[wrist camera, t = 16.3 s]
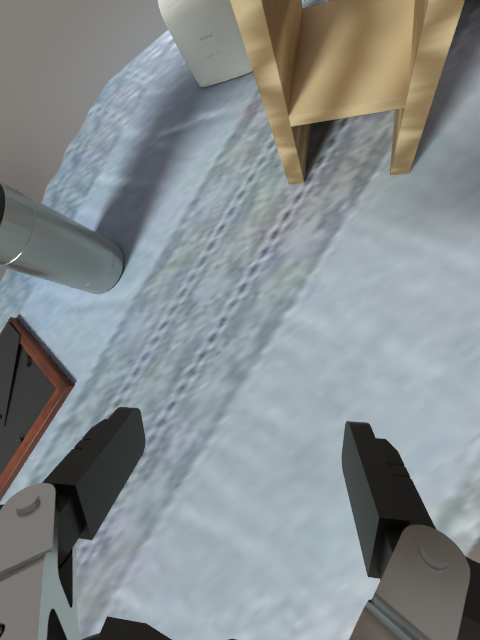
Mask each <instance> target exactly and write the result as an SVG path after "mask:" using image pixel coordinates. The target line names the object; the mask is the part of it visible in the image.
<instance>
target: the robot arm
mask: <svg viewBox="0 0 480 640" xmlns="http://www.w3.org/2000/svg"><path fill="white" fill-rule="evenodd" d="M123 263H124V260H123V254H122V251H121V249H120V247H119V246H118V245H117V244H116V243H114V242H113V241H111V240H109V239H107V238H105V237H103V236H101V235H100V234H98V233H96V232H94V231H92V230H90V229H89V228H87V227H85V226H83V225H81V224H79V223H77V222H75V221H74V220H72V219H70V218H68V217H66V216H64V215H62V214H60V213H59V212H57V211H55V210H53V209H51V208H49V207H47V206H45V205H44V204H42V203H40V202H38V201H36V200H34V199H32V198H30V197H29V196H26V195H25V194H23V193H21V192H19V191H17V190H15V189H13V188H11V187H10V186H8V185H6V184H4V183H2V182H0V267H4V268H7V269H11V270H14V271H18V272H21V273H25V274H28V275H32V276H35V277H39V278H42V279H45V280H49V281H52V282H56V283H59V284H63V285H66V286H70V287H73V288H76V289H80V290H83V291H87V292H90V293H94V294H101V293H104V292H106V291H108V290H110V289H111V288H112V287H113V286H114V285H115V284H116V283H117V281H118V279H119V278H120V275H121V273H122V270H123ZM144 448H145V434H144V428H143V422H142V417H141V412H140V410H139V409H138V408H128V407H119V408H117V409H116V410H115V412H114V413H113V414H112V415H111V416H110V417H109V419H104V420H103V421H101V422H100V423H98V424H97V425H95V426H94V427H92V428H91V429H90V430H89V431H88V432H87V433H86V435H85V436H84V437H83V438H82V440H80V441H79V442H78V443H77V445H76V446H75V447H74V449H72V450H71V451H70V452H69V453H68V455H67V456H66V457H65V458H64V459H63V460H62V461H61V462H60V463H59V465H58V466H57V467H56V468H55V469H54V470H53V471H52V472H51V473H50V475H49V476H48V477H47V478H46V479H45V480H44V481H43V482H42V483H38V484H34V485H31V486H29V487H26V488H24V489H23V490H21V491H19V492H18V493H16V494H15V495H14V496H12V497H11V498H10V499H9V500H8V501H7V502H6V503H5V504H4V505H0V640H81V638H80V632H79V627H78V619H77V579H76V549H75V546H74V545H75V543H76V542H77V540H78V538H81V539H88V540H92V539H93V538H94V536H95V534H96V533H97V531H98V529H99V528H100V526H101V524H102V522H103V521H104V519H105V517H106V516H107V514H108V512H109V510H110V509H111V507H112V505H113V504H114V502H115V500H116V499H117V497H118V495H119V493H120V492H121V490H122V488H123V487H124V485H125V483H126V482H127V480H128V478H129V476H130V475H131V473H132V471H133V470H134V468H135V466H136V465H137V463H138V461H139V459H140V458H141V456H142V454H143V451H144ZM342 468H343V474H344V478H345V482H346V487H347V491H348V495H349V499H350V503H351V508H352V512H353V516H354V520H355V525H356V529H357V533H358V537H359V541H360V546H361V550H362V554H363V558H364V563H365V567H366V571H367V575H368V577H373V578H380V580H381V581H380V583H379V585H378V587H377V590H376V592H375V594H374V596H373V598H372V600H369V601H368V602H367V603H366V605H365V607H364V609H363V611H362V613H361V615H360V617H359V620H358V622H357V624H356V626H355V628H354V630H353V633H352V635H351V637H350V639H349V640H480V563H477V562H475V561H473V560H471V559H469V558H467V557H466V556H464V554H463V553H462V551H461V550H460V549H459V548H458V546H457V545H456V544H455V543H454V542H453V541H452V540H451V539H449V538H448V537H447V536H446V535H444V534H443V533H441V532H440V531H438V530H436V528H435V526H434V524H433V522H432V520H431V518H430V516H429V514H428V512H427V510H426V508H425V506H424V504H423V502H422V500H421V498H420V496H419V494H418V492H417V490H416V488H415V485H414V483H413V481H412V479H410V475H409V473H408V471H407V469H406V467H404V463H403V461H402V459H401V457H400V455H399V453H398V451H397V450H396V449H395V448H394V447H393V446H392V445H391V444H390V443H389V442H388V441H387V440H386V439H378V438H375V436H374V433H373V431H372V428H371V426H370V424H369V423H365V422H349V421H347V422H346V424H345V432H344V440H343V449H342ZM82 640H171V639H170V638H168V637H167V636H165V635H163V634H162V633H160V632H159V631H157V630H156V629H154V628H152V627H151V626H149V625H148V624H146V623H140V622H135V621H129V620H123V619H118V618H112V617H107V618H106V621H105V623H104V625H103V628H102V630H101V632H100V633H99V634H95V635H92V636H89V637H87V638H84V639H82ZM229 640H235V639H229Z"/></svg>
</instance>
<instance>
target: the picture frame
mask: <svg viewBox="0 0 480 640" xmlns="http://www.w3.org/2000/svg"><path fill="white" fill-rule="evenodd" d="M73 387H74V385H73V384H72V383H71V382H70V380H69V379H68V378H67V377H66V376H65V375H64V373H63V372H62V371H61V370H60V369H59V367H58V366H57V365H56V364H55V363H54V361H53V360H52V359H51V358H50V357H49V356H48V354H47V353H46V352H45V351H44V350H43V348H42V347H41V346H40V345H39V344H38V342H37V341H36V340H35V339H34V338H33V337H32V335H31V334H30V333H29V332H28V331H27V329H26V328H25V327H24V326H23V325H22V323H21V322H20V321H19V320H18V319H17V318H12V317H10V318H9V320H8V322H7V323H6V325H5V327H4V328H3V330H2V332H1V333H0V501H1V499H2V498H3V496H4V494H5V493H6V491H7V490H8V488H9V487H10V485H11V484H12V482H13V480H14V479H15V477H16V476H17V474H18V473H19V471H20V470H21V468H22V466H23V465H24V463H25V462H26V460H27V459H28V457H29V456H30V454H31V452H32V451H33V449H34V448H35V446H36V445H37V443H38V442H39V440H40V438H41V437H42V435H43V434H44V432H45V431H46V429H47V428H48V426H49V424H50V423H51V421H52V420H53V418H54V417H55V415H56V414H57V412H58V410H59V409H60V407H61V406H62V404H63V403H64V401H65V400H66V398H67V396H68V395H69V393H70V392H71V390H72V389H73Z"/></svg>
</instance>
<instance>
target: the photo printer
mask: <svg viewBox="0 0 480 640" xmlns="http://www.w3.org/2000/svg"><path fill="white" fill-rule="evenodd" d="M158 4H159V8H160V11H161V14H162V17H163V19H164V22H165V24H166V26H167V28H168V30H169V31H170V33H171V35H172V37H173V39H174V41H175V43H176V44H177V46H178V48H179V50H180V52H181V54H182V56H183V57H184V59H185V61H186V63H187V65H188V67H189V68H190V70H191V72H192V74H193V76H194V78H195V79H196V81H197V83H198V85H199V86H200V87H206V86H210V85H214V84H217V83H221V82H224V81H227V80H230V79H233V78H236V77H239V76H242V75H245V74H247V73H250V72H252V71H253V70H252V67H251V64H250V61H249V58H248V55H247V51H246V48H245V45H244V42H243V39H242V36H241V33H240V30H239V26H238V23H237V20H236V17H235V14H234V11H233V8H232V5H231V1H230V0H158Z"/></svg>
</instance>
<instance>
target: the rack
mask: <svg viewBox="0 0 480 640" xmlns="http://www.w3.org/2000/svg"><path fill="white" fill-rule="evenodd" d="M230 1H231V5H232V8H233V11H234V14H235V17H236V20H237V23H238V26H239V30H240V33H241V36H242V39H243V42H244V45H245V48H246V51H247V55H248V58H249V61H250V64H251V67H252V70H253V73H254V76H255V80H256V83H257V86H258V89H259V92H260V95H261V98H262V101H263V105H264V108H265V111H266V114H267V117H268V120H269V123H270V126H271V130H272V133H273V136H274V139H275V142H276V145H277V148H278V151H279V155H280V158H281V161H282V164H283V167H284V170H285V173H286V176H287V180H288V183H289V184H296V183H304V180H305V171H306V162H307V154H308V145H309V137H310V128H311V123H316V122H322V121H328V120H334V119H340V118H346V117H352V116H358V115H365V114H371V113H377V112H383V111H389V110H395V118H394V131H393V143H392V156H391V168H390V175H396V174H407V173H410V170H411V167H412V164H413V160H414V157H415V154H416V151H417V148H418V145H419V142H420V139H421V136H422V132H423V129H424V126H425V123H426V120H427V117H428V114H429V111H430V108H431V104H432V101H433V98H434V95H435V92H436V89H437V86H438V83H439V79H440V76H441V73H442V70H443V67H444V64H445V61H446V58H447V55H448V51H449V48H450V45H451V42H452V39H453V36H454V33H455V30H456V26H457V23H458V20H459V17H460V14H461V11H462V8H463V5H464V2H465V0H329V1H326V2H323V3H320V4H316V5H313V6H310V7H307V8H303V9H302V3H301V0H230Z"/></svg>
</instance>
